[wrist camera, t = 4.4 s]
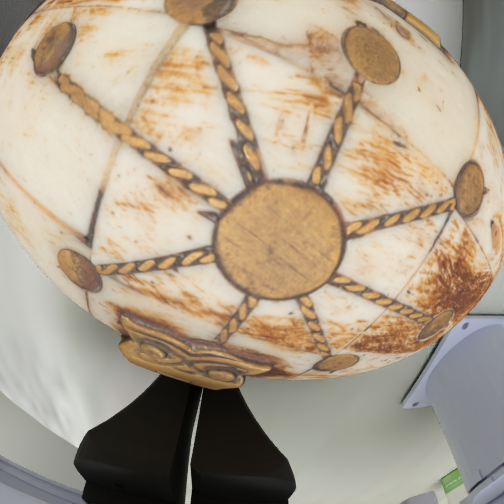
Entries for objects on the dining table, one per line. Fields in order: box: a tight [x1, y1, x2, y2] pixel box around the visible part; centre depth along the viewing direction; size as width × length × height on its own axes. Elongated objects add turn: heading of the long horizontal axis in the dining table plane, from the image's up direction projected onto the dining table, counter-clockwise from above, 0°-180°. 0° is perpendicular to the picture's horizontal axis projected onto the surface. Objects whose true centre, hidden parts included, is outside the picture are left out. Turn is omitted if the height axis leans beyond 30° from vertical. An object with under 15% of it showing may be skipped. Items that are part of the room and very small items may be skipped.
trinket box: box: [0, 0, 504, 390], centre depth 8 cm, size 13×15×8 cm
